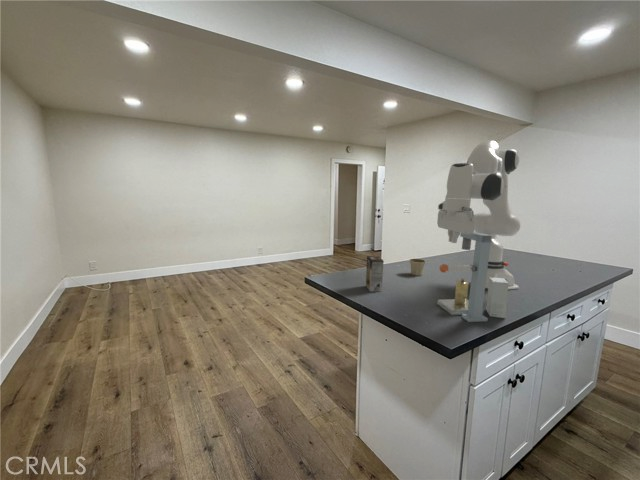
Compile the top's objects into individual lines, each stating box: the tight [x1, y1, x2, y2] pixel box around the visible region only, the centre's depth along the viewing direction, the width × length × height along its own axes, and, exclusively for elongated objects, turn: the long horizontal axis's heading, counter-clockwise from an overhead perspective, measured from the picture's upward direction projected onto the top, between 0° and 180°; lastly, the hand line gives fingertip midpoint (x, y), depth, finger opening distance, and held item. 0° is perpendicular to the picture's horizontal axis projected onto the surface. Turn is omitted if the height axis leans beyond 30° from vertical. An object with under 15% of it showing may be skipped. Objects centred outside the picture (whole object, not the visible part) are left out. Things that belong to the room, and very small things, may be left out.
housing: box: [454, 278, 469, 307], centre depth 128 cm, size 5×5×12 cm
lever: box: [439, 263, 477, 273], centre depth 114 cm, size 14×3×3 cm, turn 97°
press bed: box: [437, 298, 485, 316], centre depth 129 cm, size 14×12×2 cm
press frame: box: [459, 231, 491, 323], centre depth 121 cm, size 8×15×34 cm, turn 7°
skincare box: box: [485, 277, 509, 319], centre depth 123 cm, size 8×6×15 cm
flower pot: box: [409, 258, 427, 277], centre depth 180 cm, size 9×9×9 cm
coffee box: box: [365, 255, 384, 292], centre depth 151 cm, size 9×6×16 cm
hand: (452, 242), depth 115 cm, fingers closed
